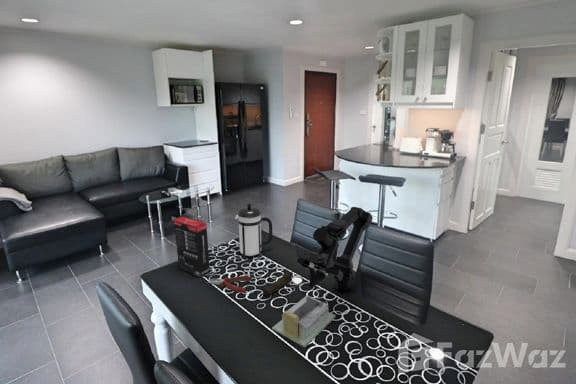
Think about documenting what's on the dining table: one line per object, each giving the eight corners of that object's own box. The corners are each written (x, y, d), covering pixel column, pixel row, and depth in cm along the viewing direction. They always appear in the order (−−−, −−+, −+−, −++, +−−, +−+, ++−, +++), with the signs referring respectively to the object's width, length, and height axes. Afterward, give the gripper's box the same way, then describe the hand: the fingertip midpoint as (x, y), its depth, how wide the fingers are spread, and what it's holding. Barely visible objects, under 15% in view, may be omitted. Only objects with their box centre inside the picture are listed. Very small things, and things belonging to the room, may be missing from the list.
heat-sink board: (304, 302, 134) (305, 284, 132) (335, 317, 125) (336, 297, 123) (272, 329, 118) (271, 308, 116) (304, 347, 109) (305, 325, 107)
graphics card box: (211, 272, 159) (207, 221, 152) (200, 278, 153) (196, 226, 146) (188, 263, 168) (183, 215, 161) (177, 269, 162) (172, 219, 155)
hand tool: (268, 298, 138) (268, 289, 136) (262, 295, 140) (262, 286, 139) (296, 281, 151) (296, 272, 150) (289, 278, 154) (289, 269, 153)
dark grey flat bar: (310, 299, 126) (310, 297, 126) (319, 303, 124) (319, 301, 124) (289, 317, 116) (289, 315, 116) (297, 321, 113) (297, 320, 113)
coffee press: (254, 263, 168) (252, 209, 160) (231, 255, 176) (229, 204, 169) (273, 251, 182) (272, 201, 174) (251, 244, 190) (250, 197, 183)
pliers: (214, 276, 156) (213, 271, 155) (253, 280, 152) (252, 276, 151) (203, 289, 145) (203, 284, 144) (245, 294, 141) (245, 289, 141)
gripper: (299, 237, 126) (281, 273, 120) (340, 250, 115) (323, 290, 109) (310, 248, 134) (294, 282, 128) (349, 261, 123) (334, 299, 117)
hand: (310, 288), depth 121 cm, fingers closed
